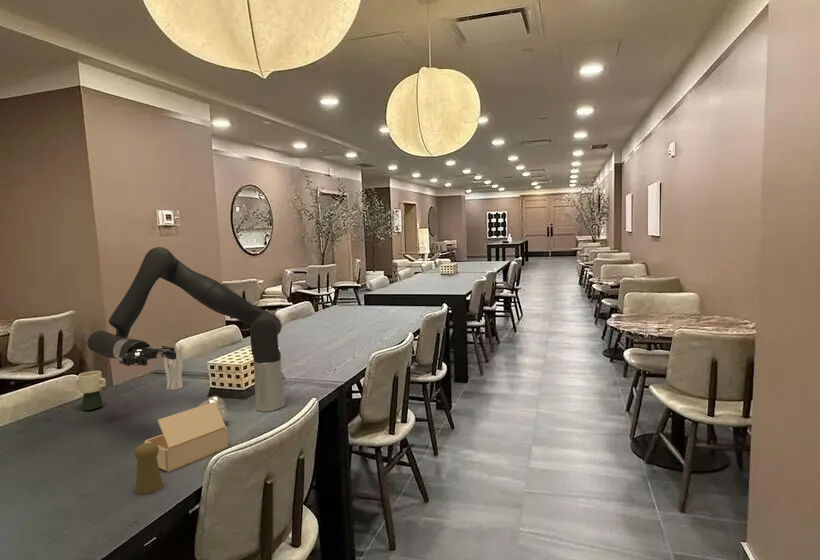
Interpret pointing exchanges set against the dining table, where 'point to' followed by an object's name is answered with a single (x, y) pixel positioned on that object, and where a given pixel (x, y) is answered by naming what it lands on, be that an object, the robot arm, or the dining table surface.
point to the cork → (147, 469)
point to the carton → (189, 449)
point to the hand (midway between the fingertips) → (160, 359)
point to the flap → (191, 424)
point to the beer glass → (174, 371)
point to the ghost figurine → (219, 403)
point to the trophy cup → (91, 389)
